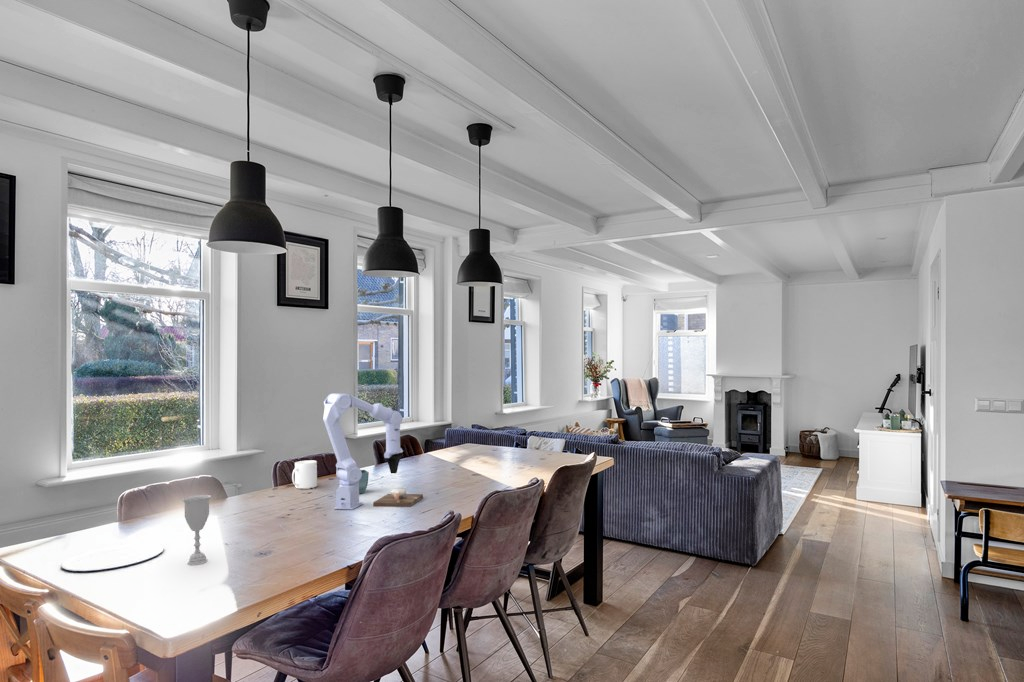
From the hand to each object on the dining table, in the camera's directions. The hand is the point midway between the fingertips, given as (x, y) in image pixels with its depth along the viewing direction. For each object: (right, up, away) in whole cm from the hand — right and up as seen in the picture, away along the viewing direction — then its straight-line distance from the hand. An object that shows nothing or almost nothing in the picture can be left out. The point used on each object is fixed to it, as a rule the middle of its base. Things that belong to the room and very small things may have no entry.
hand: (393, 473), depth 247 cm
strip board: (+4, -9, -9) cm, 14 cm away
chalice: (-40, -8, -77) cm, 88 cm away
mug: (-45, -13, +24) cm, 53 cm away
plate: (-67, -10, -71) cm, 99 cm away
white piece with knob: (+4, -6, -13) cm, 15 cm away
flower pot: (-18, -11, +11) cm, 24 cm away
